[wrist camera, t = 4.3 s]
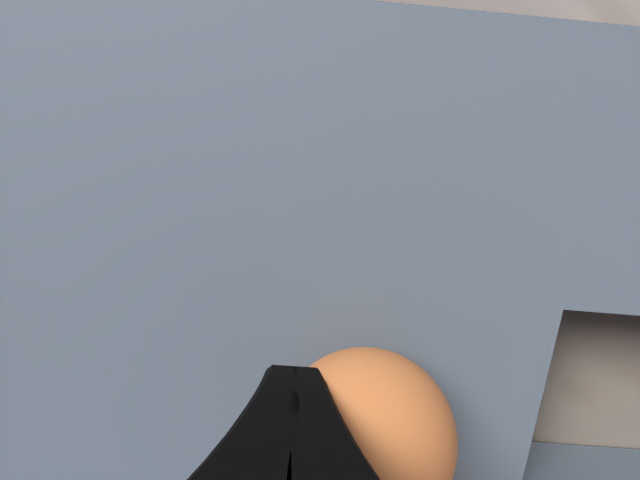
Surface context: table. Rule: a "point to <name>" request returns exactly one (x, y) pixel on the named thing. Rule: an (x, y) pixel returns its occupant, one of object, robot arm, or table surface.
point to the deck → (302, 218)
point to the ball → (393, 413)
